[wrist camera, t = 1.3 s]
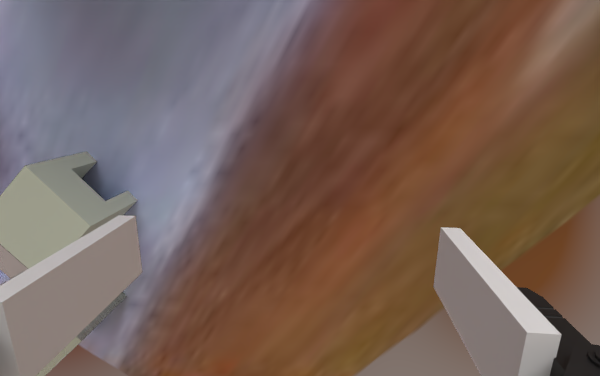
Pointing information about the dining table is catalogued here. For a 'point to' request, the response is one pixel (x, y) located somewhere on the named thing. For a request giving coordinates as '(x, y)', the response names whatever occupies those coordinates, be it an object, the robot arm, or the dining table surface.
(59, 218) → the beige hollow box
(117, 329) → the dining table surface
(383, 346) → the dining table surface
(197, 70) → the dining table surface
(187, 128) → the dining table surface
